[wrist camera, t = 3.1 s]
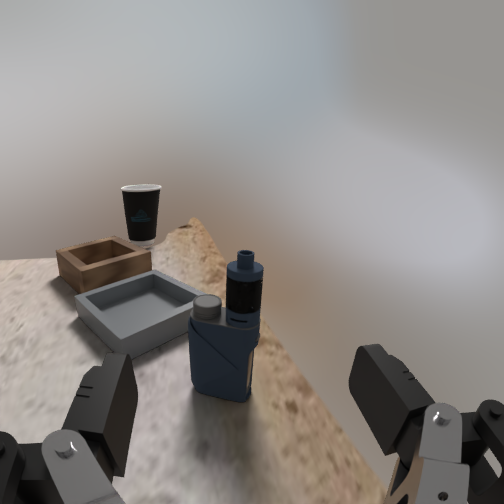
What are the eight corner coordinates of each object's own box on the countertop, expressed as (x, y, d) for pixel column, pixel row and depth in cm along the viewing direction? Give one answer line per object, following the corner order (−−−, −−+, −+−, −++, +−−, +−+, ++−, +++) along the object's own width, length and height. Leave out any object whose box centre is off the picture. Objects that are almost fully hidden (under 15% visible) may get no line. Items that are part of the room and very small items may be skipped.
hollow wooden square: (86, 300, 35) (81, 271, 34) (59, 274, 41) (55, 250, 40) (152, 277, 44) (150, 251, 42) (116, 258, 50) (114, 235, 49)
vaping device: (250, 406, 22) (261, 262, 18) (187, 391, 23) (179, 250, 19) (257, 385, 24) (269, 249, 21) (198, 372, 25) (195, 239, 22)
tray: (125, 362, 26) (120, 339, 25) (78, 315, 32) (74, 296, 31) (214, 317, 35) (214, 297, 34) (156, 287, 41) (155, 269, 40)
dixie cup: (147, 234, 64) (146, 183, 61) (170, 242, 60) (169, 186, 56) (115, 242, 58) (113, 187, 54) (137, 251, 54) (134, 191, 50)
